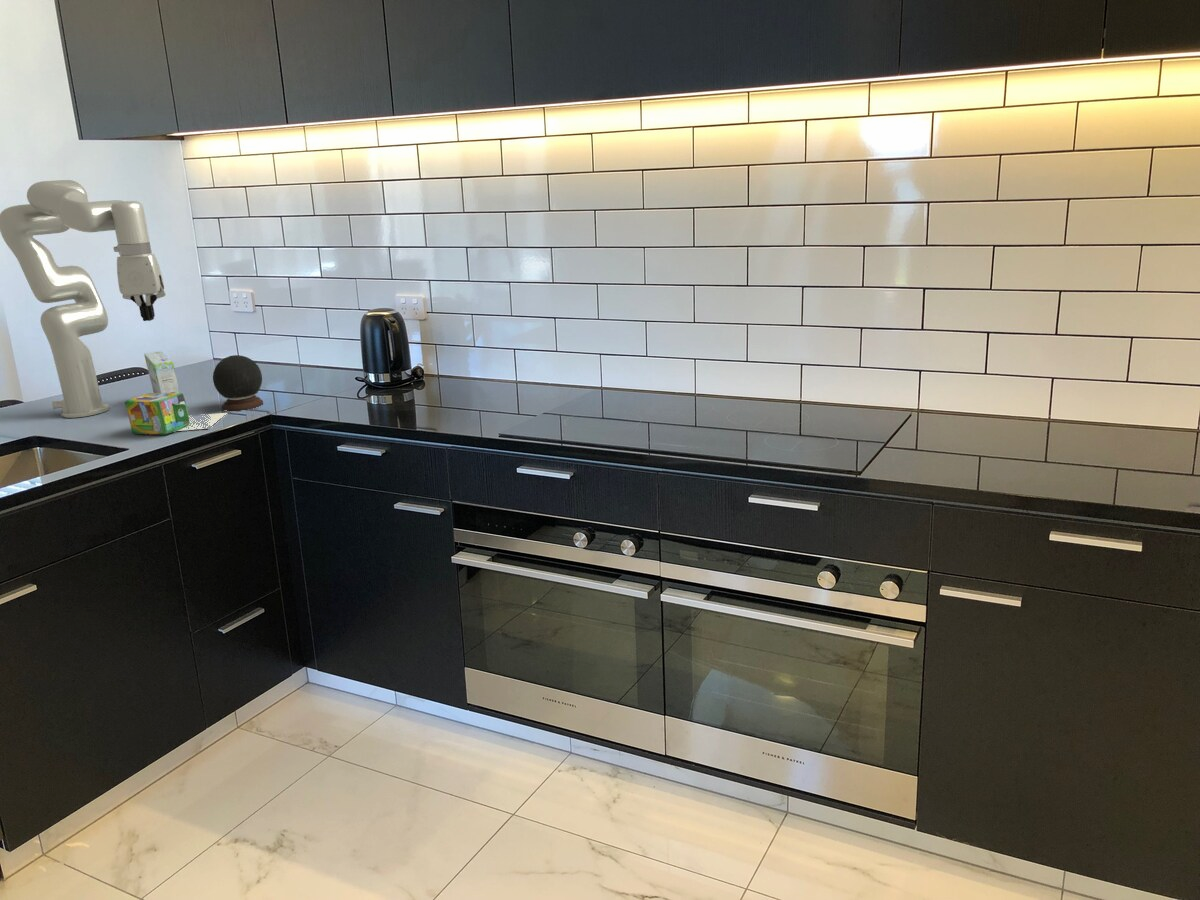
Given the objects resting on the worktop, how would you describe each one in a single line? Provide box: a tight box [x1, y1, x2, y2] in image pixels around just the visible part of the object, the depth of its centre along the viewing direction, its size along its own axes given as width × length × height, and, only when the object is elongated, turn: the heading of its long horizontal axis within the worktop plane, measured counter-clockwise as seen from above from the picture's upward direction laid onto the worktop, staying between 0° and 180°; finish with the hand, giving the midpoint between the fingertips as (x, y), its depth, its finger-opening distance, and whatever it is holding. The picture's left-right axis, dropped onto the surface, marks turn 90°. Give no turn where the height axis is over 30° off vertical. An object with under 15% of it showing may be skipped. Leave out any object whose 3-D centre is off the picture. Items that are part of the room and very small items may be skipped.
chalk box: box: [124, 392, 190, 435], centre depth 243 cm, size 9×9×15 cm
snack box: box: [143, 350, 181, 393], centre depth 271 cm, size 21×6×15 cm, turn 33°
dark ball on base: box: [212, 354, 264, 412], centre depth 264 cm, size 13×13×15 cm
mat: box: [176, 412, 228, 431], centre depth 251 cm, size 16×16×1 cm
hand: (148, 319), depth 246 cm, fingers closed
